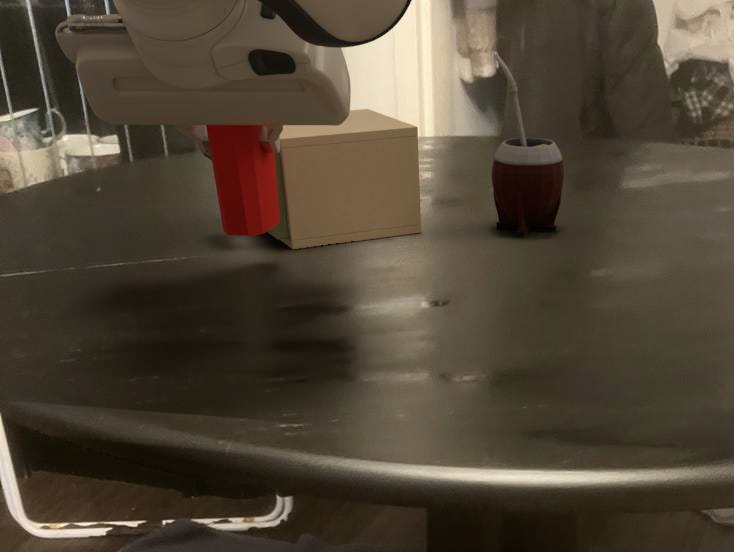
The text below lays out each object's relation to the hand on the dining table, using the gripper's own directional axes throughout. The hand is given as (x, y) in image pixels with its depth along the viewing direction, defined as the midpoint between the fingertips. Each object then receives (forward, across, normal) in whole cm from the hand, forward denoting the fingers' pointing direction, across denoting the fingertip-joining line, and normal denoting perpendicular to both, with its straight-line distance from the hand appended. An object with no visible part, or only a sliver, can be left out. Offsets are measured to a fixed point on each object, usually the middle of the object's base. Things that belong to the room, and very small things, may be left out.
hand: (241, 145), depth 82 cm
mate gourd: (+18, +24, +3) cm, 30 cm away
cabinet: (+18, +5, +4) cm, 19 cm away
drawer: (+16, +2, +3) cm, 16 cm away
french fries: (+4, 0, -5) cm, 7 cm away
